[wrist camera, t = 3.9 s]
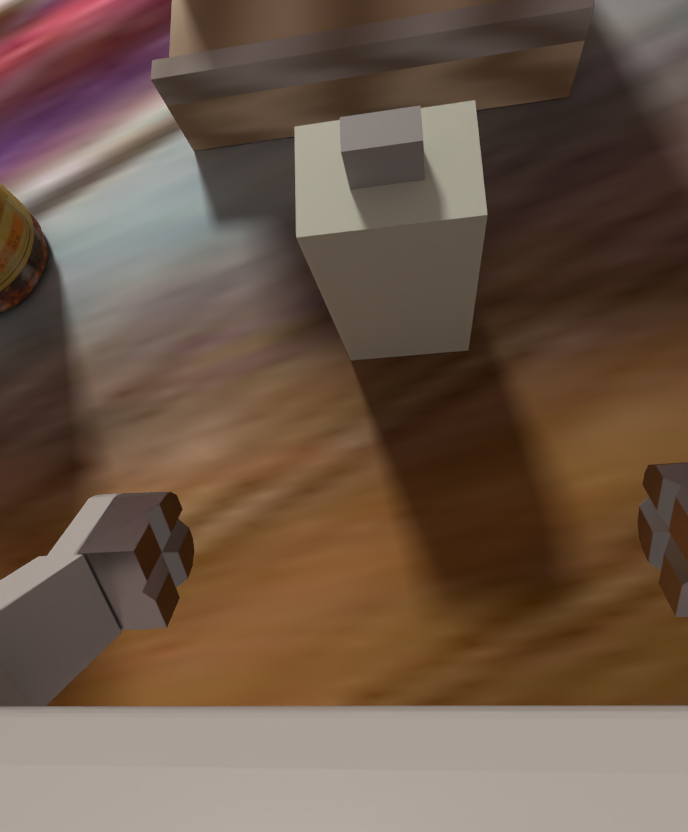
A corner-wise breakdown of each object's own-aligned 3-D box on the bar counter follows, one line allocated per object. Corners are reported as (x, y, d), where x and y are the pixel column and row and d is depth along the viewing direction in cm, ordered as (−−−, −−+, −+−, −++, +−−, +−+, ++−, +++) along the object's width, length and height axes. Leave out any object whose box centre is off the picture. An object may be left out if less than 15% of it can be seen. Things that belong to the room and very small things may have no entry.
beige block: (461, 274, 25) (478, 53, 14) (468, 350, 24) (492, 177, 13) (348, 286, 26) (280, 84, 15) (350, 360, 25) (281, 204, 14)
